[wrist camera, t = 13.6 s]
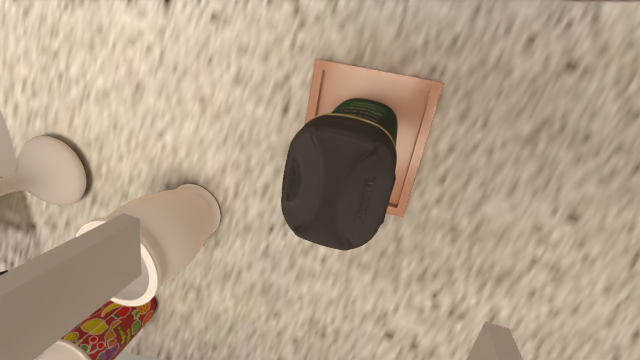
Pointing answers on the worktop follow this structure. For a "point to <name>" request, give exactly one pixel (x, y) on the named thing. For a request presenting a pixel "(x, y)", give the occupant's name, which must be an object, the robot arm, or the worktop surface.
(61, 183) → the flower in vase
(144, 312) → the smoothie
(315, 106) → the tray
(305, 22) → the worktop surface
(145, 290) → the jar
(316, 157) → the coffee jar
